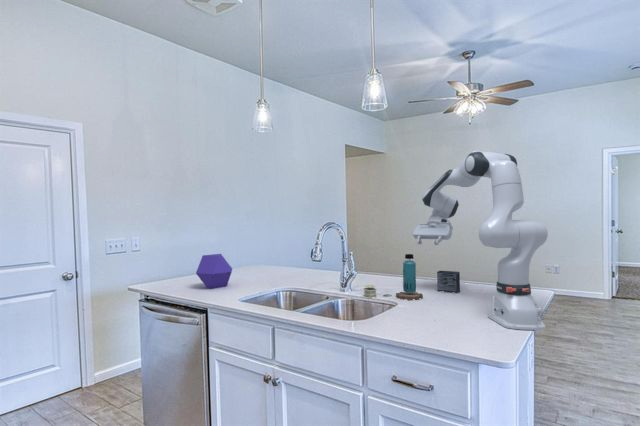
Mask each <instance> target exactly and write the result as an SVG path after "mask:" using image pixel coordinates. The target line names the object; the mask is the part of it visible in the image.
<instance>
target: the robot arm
mask: <svg viewBox="0 0 640 426" xmlns="http://www.w3.org/2000/svg"><path fill="white" fill-rule="evenodd" d="M517 161H518V160H517V158H516V157H515V156H514V155H511V154H508V153H501V152H500V153H499V152H494V151H483V150H479V149H478V150H477V149H476V150H473V151H472V152H470V153H469V154H468V155H467V156H466V157H465V158H464V160H463V161H461V164H459V166H457V167H456V168H454V169H448V170H447V171H446V172H445V173H444V174H442V175H441V177H440V178H438V180H437V181H435V182H434V183H433V185H431V186H430V187H429V188H428V189H427V190H425V192H424V193H423V195H422V202H423V204H424V206H427V207H429V208H431V209H433V210H432V212H431V215H430V216H429V218H428V220H427V222H426V224H423V223H422V224H421V223H420V224H418V225H417V226H416V227H415V228H414V230H413V232H412V236H413V238H414V239H416V240H417V244H418V245H422V242H423V241H422V240H434V242H433V244H434V246H439V243H441V242H442V241H445V240H446V241H448V240H450V239H451V237H452V235H453V229H454V228H453V226H452V223H451V221H450V220H449V219H451V218H453V217H454V216H455V215H456V213H457V211H458V207H459V206H460V204H459V200H458V199H457V198H455V197H454V196H453V197H452V196H451V195H449V194H446V193H445V192H443V191H441V190H442V189H443V188H444V187H446V186H450V185H451V186H455V187H460V188H469V187H470V188H471V187H473V186H474V185H476V184H477V183H479V181H480V180H481V178H488V179H491V191H492V192H491V193H492V210H491V213H490V215H489V216H488V218H487V219H486V221H483V223H482V224H481V225H480V227H479V229H478V238H479V241H480V242H481V244H482V245H483V246H485V247H489V248H495V249H506V248H507V249H510V251H509V253H508V254H507V255H505V256H504V257H502V258H501V259H500V260H499V261H498V263H497V281H496V291H497V292H496V293H495V294H494V295H493V296H492V308H491V309H492V313H488V315H487V317H488V318H489V319H491V320H492V321H494V322H495V323H498V324H499V325H500V326H502V327H504V328H507V329H513V330H522V331H541V330H546V325H545V323H544V322H543V320H542V319H541V317H540V316H539V315H541V314H542V308H541V307H538V306H537V302H536V301H535V300H534V298H533V296H532V288H531V287H532V286H531V284H530V280H529V279H530V266H531V265H530V264H531V261H532V257H533V256H534V254H535V253H536V252H537V250H538V249H539V248H540V247H541V246H543V245H544V244H545V243H546V241H547V239H548V236H549V235H548V229H547V227H546V225H545V224H544V223H543V222H541V221H537V220H531V219H513V213H514V212H516V211H518V210H519V209H521V208H522V207H523V205H524V203H525V197H524V191H523V184H522V179H521V174H520V170H519V168H518V162H517Z"/></svg>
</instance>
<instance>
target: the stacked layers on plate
mask: <svg viewBox="0 0 640 426" xmlns="http://www.w3.org/2000/svg"><path fill="white" fill-rule="evenodd" d="M363 287H364V288H363V290H364V292H363V294H364V295H363V296H364V297H365V298H369V297H370V299H373V298H372V297H375V298H376V297H377V289H376V288H377V286H375V285H374V284H366V285H363Z"/></svg>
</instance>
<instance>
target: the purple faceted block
mask: <svg viewBox="0 0 640 426" xmlns="http://www.w3.org/2000/svg"><path fill="white" fill-rule="evenodd" d="M196 269H197V270H196V275H197V277H198V278H199V279H200V281H201V282H202V283H203V285H205V287H206V289H208V290H211V289H212V290H213V289H219V288H224V287H228V283H229V281H230V279H231V275H232V271H233V268H232V266H231V265H230V264H229V262H228V261H227V259H226V258H225V257H224V256H223V254H222V253H215V254H204V255H203V254H202V256H201V259H200V262H199V264H198V267H197V268H196Z"/></svg>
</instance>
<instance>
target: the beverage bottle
mask: <svg viewBox="0 0 640 426" xmlns="http://www.w3.org/2000/svg"><path fill="white" fill-rule="evenodd" d="M404 259H405V260H404V262H402V265H403V266H402V277H403V278H402V279H403V282H402V288H403V292H416V291H417V280H416V279H417V277H416V276H417V274H416V272H417V270H416V269H417V267H416V265H417V263H416V262H415V261H414V260H412V259H415V258H414V254H413V253H408V254H407V253H405V255H404Z"/></svg>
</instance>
